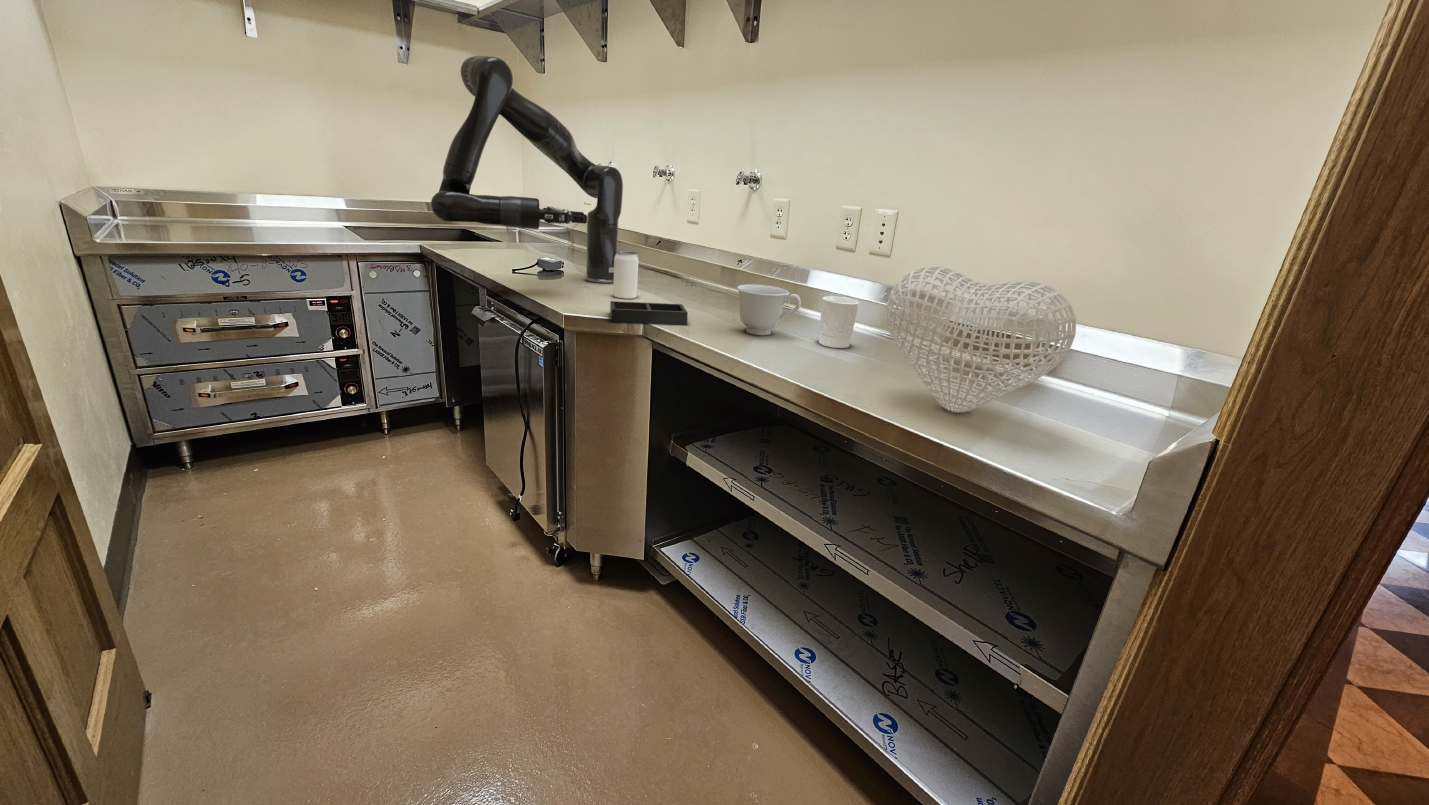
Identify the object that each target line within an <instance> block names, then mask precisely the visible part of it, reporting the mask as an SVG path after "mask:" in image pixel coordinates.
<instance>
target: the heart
mask: <svg viewBox="0 0 1429 805" xmlns="http://www.w3.org/2000/svg"><path fill="white" fill-rule="evenodd" d="M939 275H940V276H939ZM929 277H930V278H931V279H929V280H928V279H927V278H929ZM937 280H938V281H939V282H940V283H938V282H935V281H937ZM913 283H915V284H914V285H913ZM923 283H924V285H923ZM912 285H913V286H912ZM928 285H929V287H928V289H926V287H927V286H928ZM948 286H951V289H950V288H948ZM957 289H958V290H960V291H959V292H958V291H957ZM934 290H936V291H937V292H935V291H934ZM914 291H916V295H915V297H913V296H912V295H913V294H914ZM921 293H922V294H924V295H925V297H924V299H921V298H919V297H920V296H921ZM941 293H945V294H944V296H943V295H941ZM965 293H968V295H966V294H965ZM1015 294H1017V295H1015ZM1021 294H1022V295H1021ZM1038 294H1040V295H1038ZM952 295H953V299H950V297H951V296H952ZM973 295H974V296H973ZM929 297H933V298H934V300H933V302H929V301H928V299H929ZM960 299H961V300H960ZM938 300H942V301H943V303H942V305H941V306H938V305H937V303H938ZM959 300H960V302H959ZM979 301H981V302H979ZM986 301H989V303H987V304H985V303H986ZM1021 301H1022V302H1025V303H1026V305H1022V306H1021V305H1020V302H1021ZM910 302H913V305H912V307H910ZM995 302H996V303H995ZM1006 302H1007V304H1006ZM1010 302H1013V303H1012V304H1010ZM947 303H949V304H951V306H950V308H949V309H948V308H946V306H947ZM971 303H972V304H971ZM1041 303H1043V304H1044V305H1045V306H1046V307H1042V306H1040V305H1041ZM917 304H920V305H922V308H921V310H920V311H919V310H917ZM894 306H895V308H894ZM926 306H928V307H931V309H930V313H928V312H925V309H926ZM956 306H958V307H959V308H958V310H957V312H955V308H956ZM899 307H900V309H899ZM935 309H937V310H939V314H938V315H936V314H933V313H934V310H935ZM985 309H986V311H985ZM1029 309H1030V310H1035V314H1034V315H1033V314H1031V313H1030V312H1029ZM964 310H965V313H964V314H963V312H964ZM992 310H993V311H995V312H994V313H993V314H992ZM1012 310H1014V311H1015V316H1009V315H1010V313H1011V311H1012ZM1063 310H1064V312H1063ZM984 311H985V313H984ZM1001 311H1006V312H1005V313H1004V314H1003V315H1001ZM1019 311H1020V312H1019ZM899 313H900V314H899ZM905 313H906V317H905ZM943 313H946V314H947V316H946V318H942V316H943ZM1050 313H1051V314H1052V317H1053V318H1049V314H1050ZM1057 313H1059V317H1060V318H1058V317H1057ZM1064 313H1065V315H1064ZM917 314H918V318H917ZM971 314H972V315H971ZM1023 314H1025V315H1024V316H1022V315H1023ZM952 316H954V319H953V321H952V322H951V318H952ZM1065 316H1066V317H1065ZM912 318H913V320H912ZM925 318H927V320H925ZM960 319H962V320H961V321H960ZM885 320H886V324H887V329H888V331H889V334H890V335H891V338H892V340H893V341H894V343H895V345H896V347H897V348H898V350H899V351H900V353H901V354H902V355H903V357H904V358H905V360H906V361H907V362H908V363H909V365H910V366H911V367H912V369H913V370H914V372H915V373H916V374H917V376H918V377H919V378H920V380H921V382H923V384H924V385H925V387H926V388H927V390H928V391H929V392H930V394H931V395H932V396H933V398H934V399H935V400H936V401H937V403H938V404H940V405H941V407H943V409H945V410H947V411H949V412H952V413H965V412H969V411H972V410H974V409H977V408H980V407H982V406H984V405H986V404H988V403H990V402H992V401H994V400H996V399H998V398H1000V397H1003V396H1005V395H1007V394H1009V393H1012V392H1014V391H1016V390H1018V389H1021V388H1022V387H1025V386H1027V385H1029V384H1031V383H1032V382H1035V381H1037V380H1038V379H1040V378H1042V377H1043V376H1045V375H1047V374H1049V373H1050V371H1052V370H1053V369H1054V368H1055V367H1056V366H1058V365H1059V364H1060V363H1061V362H1062V360H1064V358H1065V357H1066V355H1067V354H1068V353H1069V352H1070V350H1071V348H1072V345H1073V343H1074V340H1075V337H1076V333H1077V318H1076V314H1075V311H1074V310H1073V307H1072V305H1071V303H1070V301H1069V300H1068V299H1067V298H1066V297H1065V296H1064V295H1063V294H1062V293H1061V292H1060V291H1059V290H1057V289H1055V288H1053V287H1051V286H1049V285H1047V284H1044V283H1040V282H1034V281H1011V282H1005V283H1004V282H1003V283H995V284H993V283H992V284H987V283H986V284H984V283H982V282H978V281H976V280H974V279H972V278H970V277H968V276H966V275H965V274H963V273H960V272H958V271H957V270H954V269H951V268H947V267H940V266H927V267H922V268H921V267H920V268H918V269H914V270H913V271H911V272H909V273H907V274H905V275H904V276H903V277H901V278H900V280H898V281H897V283H896V284H895V285H894V286H893V287H892V289H891V291H890V293H889V296H888V299H887V301H886V308H885ZM931 320H932V321H935V322H932V321H931ZM986 320H987V322H986ZM1038 320H1039V321H1040V320H1041V321H1043V326H1038ZM977 321H978V322H977ZM995 321H996V323H995ZM1000 321H1001V324H1000V326H999V322H1000ZM1009 321H1013V323H1012V326H1011V327H1008V324H1009ZM1029 321H1032V323H1033V327H1027V324H1028V322H1029ZM959 322H960V323H959ZM968 322H969V323H968ZM1018 322H1019V323H1023V327H1018ZM1050 322H1053V323H1051V324H1050ZM994 323H995V326H994ZM929 324H930V325H931V326H930V327H928V326H929ZM939 324H941V326H940V327H939ZM912 325H914V326H915V328H914V330H913V327H912ZM1004 326H1005V327H1004ZM948 327H949V328H948ZM897 328H898V329H897ZM920 328H921V329H922V330H921V329H920ZM933 328H934V329H933ZM943 328H944V329H943ZM952 328H953V332H952V334H951V333H950V332H951V330H952ZM960 331H962V333H961V337H960V336H957V335H958V334H959V332H960ZM978 331H979V333H978ZM993 331H994V334H993ZM998 331H999V333H998ZM1003 331H1004V334H1003ZM1039 331H1041V332H1042V333H1041V337H1040V338H1039V334H1040V332H1039ZM926 332H927V333H928V334H929V335H930V336H929V337H925V335H926ZM1008 332H1010V338H1007V334H1008ZM1017 332H1018V333H1023V334H1022V338H1017ZM1028 332H1032V335H1031V338H1027V333H1028ZM968 334H970V338H966V336H967V335H968ZM987 334H988V335H987ZM937 335H939V336H941V338H940V339H939V338H938V337H936V336H937ZM997 335H998V337H997ZM1045 335H1046V338H1045ZM910 336H912V338H911V337H910ZM977 336H978V337H979V338H976V337H977ZM1002 336H1003V337H1002ZM1054 336H1055V337H1054ZM946 338H949V339H950V340H949V341H948V343H946V342H944V339H946ZM919 339H920V340H919ZM955 340H957V341H960V342H959V343H958V345H957V346H954V342H955ZM923 343H926V345H928V347H925V346H923ZM964 343H967V344H969V345H968V347H967V348H964ZM985 343H988V345H985ZM1052 343H1053V345H1052V347H1050V345H1051V344H1052ZM995 344H998V347H996V346H995ZM1006 344H1009V348H1005V346H1006ZM1016 344H1021V349H1015V348H1016V347H1015V346H1016ZM1026 344H1030V348H1029V349H1025V347H1026ZM1038 344H1039V347H1038ZM1043 344H1044V346H1043ZM1058 345H1059V347H1057V346H1058ZM937 346H939V347H938V349H937V348H936V347H937ZM974 346H977V347H979V348H978V350H977V349H974ZM943 347H944V348H943ZM1037 347H1038V348H1037ZM942 348H943V350H942ZM983 348H987V349H988V350H983ZM1056 348H1057V349H1056ZM948 349H949V352H948V353H947V354H946V353H945V352H946V351H947V350H948ZM953 350H955V351H954V352H953ZM994 350H995V351H994ZM958 352H959V357H958V356H956V355H957V354H958ZM922 353H924V354H925V355H926V356H925V355H922ZM931 354H935V355H933V356H931ZM974 355H976V356H975V358H974ZM993 355H995V356H993ZM996 355H998V356H996ZM1004 355H1005V356H1006V355H1009V359H1008V358H1003V356H1004ZM1014 355H1019V358H1015V359H1014ZM1024 355H1028V357H1027V358H1026V359H1025V358H1024ZM968 356H970V358H968ZM1034 356H1035V357H1034ZM1045 356H1047V357H1046V358H1044V357H1045ZM943 358H948V362H945V361H943ZM979 358H980V360H979ZM984 358H987V359H986V361H984ZM955 360H956V361H959V365H956V364H954V362H955ZM994 360H996V361H994ZM1049 360H1050V361H1049ZM1048 361H1049V362H1048ZM935 363H936V365H935ZM965 363H970V368H968V367H964V366H965ZM1017 363H1019V364H1018V365H1017ZM930 364H931V365H930ZM1026 364H1028V365H1029V366H1026V367H1024V366H1025V365H1026ZM976 365H979V366H981V369H982V370H979V369H975V368H976ZM1006 365H1008V367H1007V366H1006ZM1000 366H1001V367H1002V368H1001V367H1000ZM1012 366H1013V367H1012ZM944 368H947V370H946V369H944ZM987 368H989V369H992V370H993V371H992V370H991V371H989V370H988V371H987ZM953 369H959V372H953ZM1031 369H1032V370H1031ZM931 370H933V372H934V373H932V372H931ZM964 371H967V372H969V374H968V375H965V374H964ZM976 374H979V376H978V377H976ZM1001 374H1003V375H1002V376H1001ZM994 376H996V377H994ZM982 377H984V379H982ZM953 378H958V379H957V380H955V379H953ZM935 379H936V381H935ZM963 379H964V380H966V382H963ZM942 381H943V382H942ZM946 381H947V382H946ZM970 381H971V382H970ZM969 382H970V383H969ZM978 384H980V385H982V386H981V387H980V386H977V385H978ZM998 384H999V385H998ZM962 388H963V389H962ZM986 388H987V389H986ZM966 389H967V390H966ZM953 390H954V391H953ZM952 397H954V398H952Z"/></svg>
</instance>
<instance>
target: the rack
mask: <svg viewBox="0 0 1429 805" xmlns="http://www.w3.org/2000/svg"><path fill="white" fill-rule="evenodd" d="M609 304H610V305H609V315H610V322H611V323H623V324H624V323H625V324H650V325H651V324H652V325H677V326H678V325H679V326H680V325H681V326H688V314H689V313H688V311H687V309H686V307H685V306H684V305H683V303H665V302H664V303H663V302H639V301H620V300H619V301H617V300H610V302H609Z"/></svg>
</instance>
